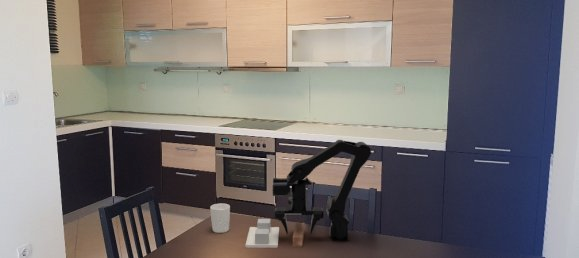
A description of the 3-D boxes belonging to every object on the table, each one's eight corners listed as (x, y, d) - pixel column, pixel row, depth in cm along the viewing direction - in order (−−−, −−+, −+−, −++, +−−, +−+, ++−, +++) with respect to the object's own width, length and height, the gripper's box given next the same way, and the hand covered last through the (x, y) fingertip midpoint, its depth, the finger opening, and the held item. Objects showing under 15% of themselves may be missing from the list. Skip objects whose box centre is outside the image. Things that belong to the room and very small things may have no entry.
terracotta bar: (304, 232, 190) (304, 222, 189) (302, 247, 175) (302, 237, 174) (295, 231, 190) (295, 222, 189) (292, 247, 175) (292, 237, 175)
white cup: (220, 235, 186) (220, 211, 185) (207, 230, 191) (206, 207, 189) (234, 229, 192) (233, 205, 191) (220, 224, 197) (220, 202, 196)
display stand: (279, 229, 192) (279, 217, 191) (277, 247, 174) (277, 234, 173) (250, 229, 192) (249, 217, 191) (245, 247, 174) (245, 234, 173)
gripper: (322, 189, 187) (321, 226, 190) (275, 189, 188) (275, 226, 190) (323, 197, 176) (323, 236, 179) (274, 197, 177) (274, 236, 179)
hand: (299, 233), depth 182 cm, fingers open, 9 cm apart
